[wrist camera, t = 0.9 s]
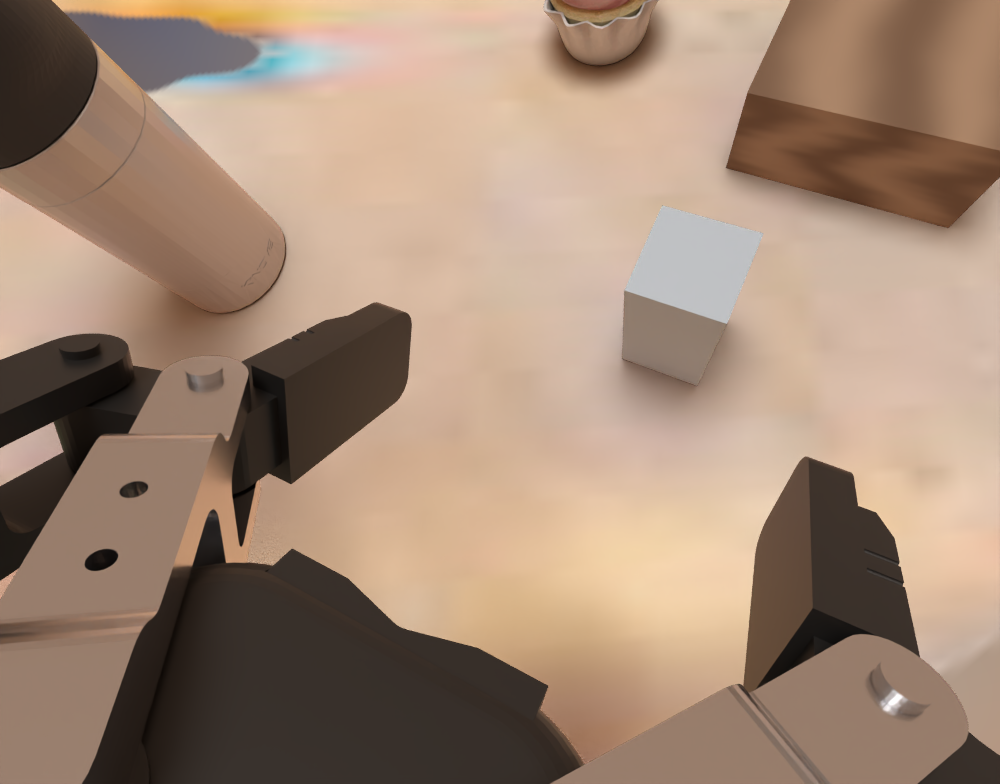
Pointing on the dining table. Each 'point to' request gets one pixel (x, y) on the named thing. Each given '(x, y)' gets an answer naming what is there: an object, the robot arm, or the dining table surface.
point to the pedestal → (879, 104)
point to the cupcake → (600, 27)
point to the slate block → (684, 292)
